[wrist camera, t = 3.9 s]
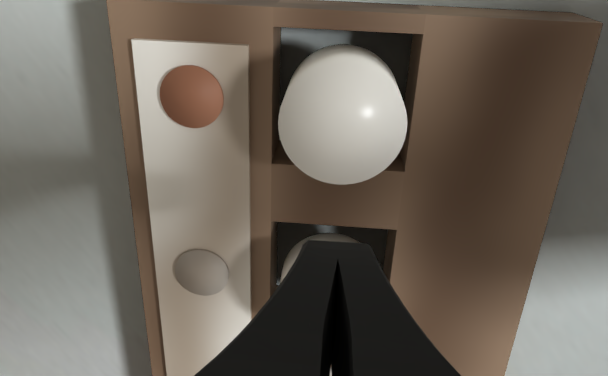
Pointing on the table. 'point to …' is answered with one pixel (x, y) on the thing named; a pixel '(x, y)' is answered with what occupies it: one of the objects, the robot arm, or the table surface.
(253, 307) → the board
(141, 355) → the table surface
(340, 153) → the button
